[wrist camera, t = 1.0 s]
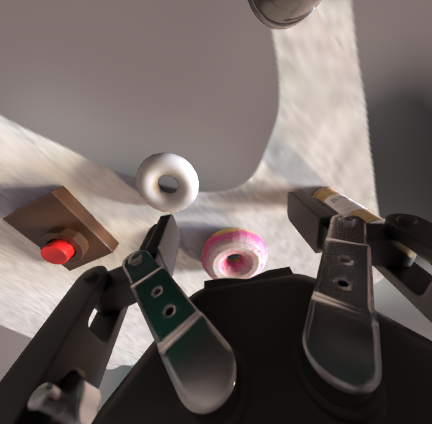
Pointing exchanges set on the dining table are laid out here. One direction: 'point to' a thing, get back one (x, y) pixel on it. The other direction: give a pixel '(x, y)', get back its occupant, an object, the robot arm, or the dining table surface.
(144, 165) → the donut
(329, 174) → the dining table surface
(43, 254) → the light button
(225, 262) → the donut
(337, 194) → the sprinkles bottle
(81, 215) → the switch block
